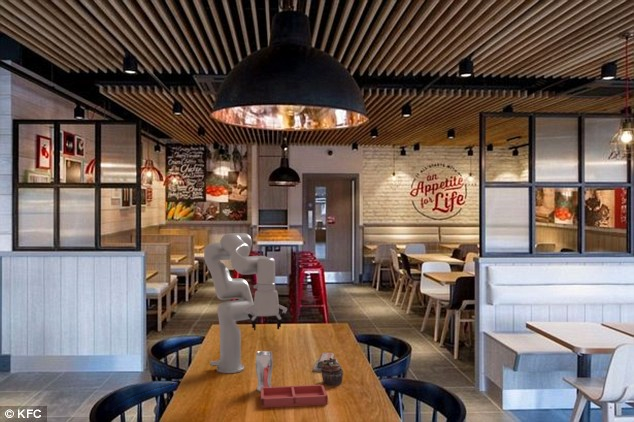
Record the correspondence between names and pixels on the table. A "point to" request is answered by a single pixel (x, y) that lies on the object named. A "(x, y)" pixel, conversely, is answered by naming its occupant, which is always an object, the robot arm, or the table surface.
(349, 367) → the table surface
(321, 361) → the packaged product
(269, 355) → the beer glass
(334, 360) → the cupcake
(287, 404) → the tray
